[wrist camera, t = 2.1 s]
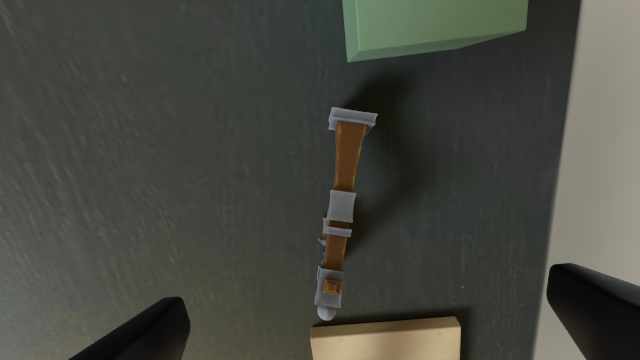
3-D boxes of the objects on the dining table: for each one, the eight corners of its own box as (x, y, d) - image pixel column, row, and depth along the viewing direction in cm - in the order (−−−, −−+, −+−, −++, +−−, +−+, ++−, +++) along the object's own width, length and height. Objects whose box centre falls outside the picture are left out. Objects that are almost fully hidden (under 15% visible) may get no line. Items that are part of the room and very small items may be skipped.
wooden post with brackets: (302, 290, 15) (301, 325, 10) (324, 135, 16) (332, 105, 11) (338, 295, 15) (352, 332, 10) (358, 140, 16) (379, 112, 11)
